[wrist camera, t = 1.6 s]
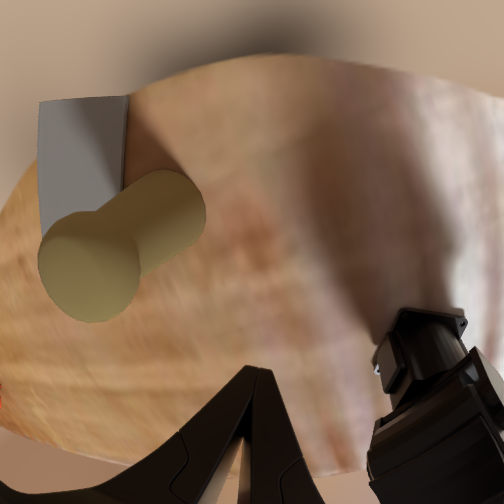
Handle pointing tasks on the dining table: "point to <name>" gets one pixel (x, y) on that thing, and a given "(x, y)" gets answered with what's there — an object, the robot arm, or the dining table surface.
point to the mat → (79, 155)
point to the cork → (119, 244)
